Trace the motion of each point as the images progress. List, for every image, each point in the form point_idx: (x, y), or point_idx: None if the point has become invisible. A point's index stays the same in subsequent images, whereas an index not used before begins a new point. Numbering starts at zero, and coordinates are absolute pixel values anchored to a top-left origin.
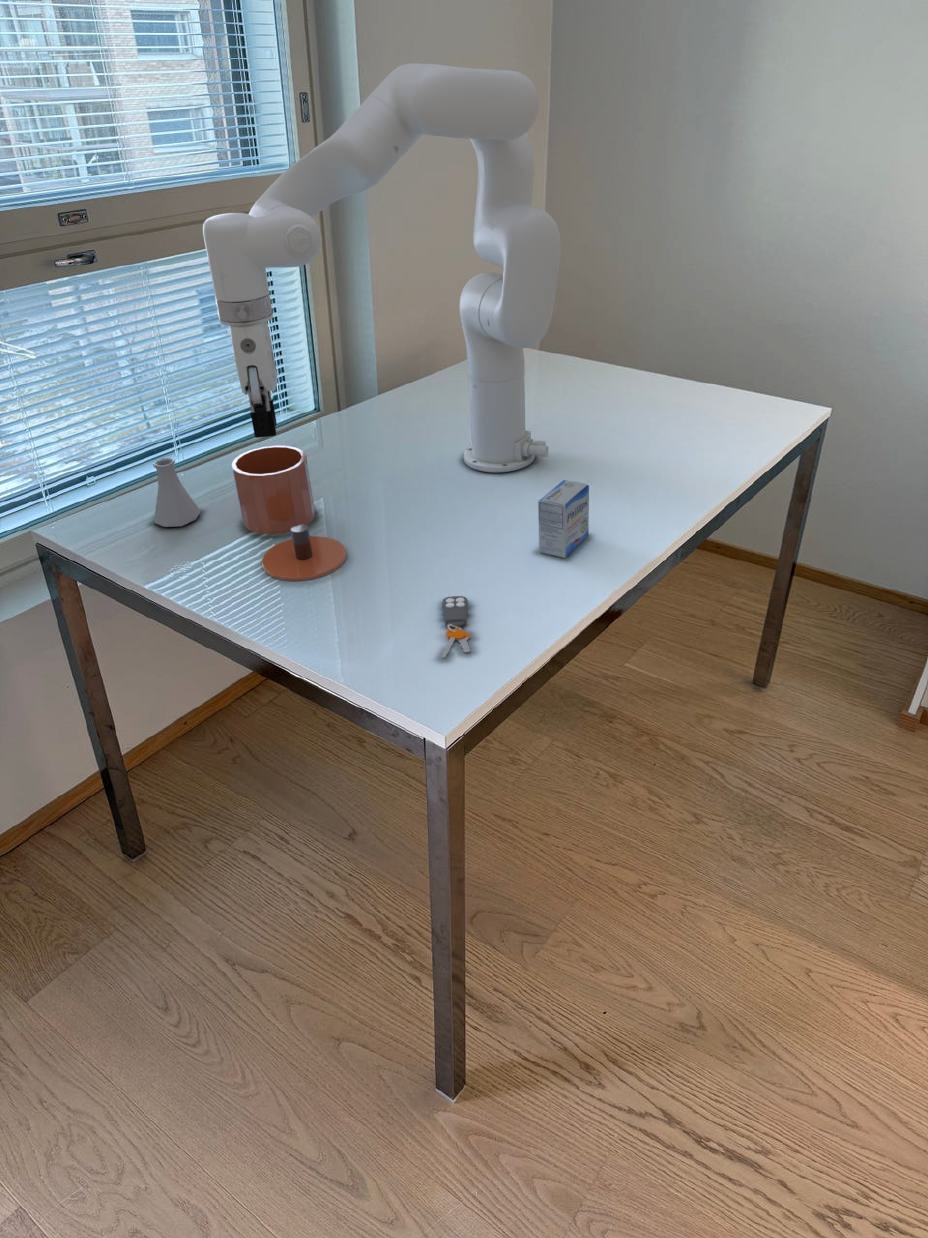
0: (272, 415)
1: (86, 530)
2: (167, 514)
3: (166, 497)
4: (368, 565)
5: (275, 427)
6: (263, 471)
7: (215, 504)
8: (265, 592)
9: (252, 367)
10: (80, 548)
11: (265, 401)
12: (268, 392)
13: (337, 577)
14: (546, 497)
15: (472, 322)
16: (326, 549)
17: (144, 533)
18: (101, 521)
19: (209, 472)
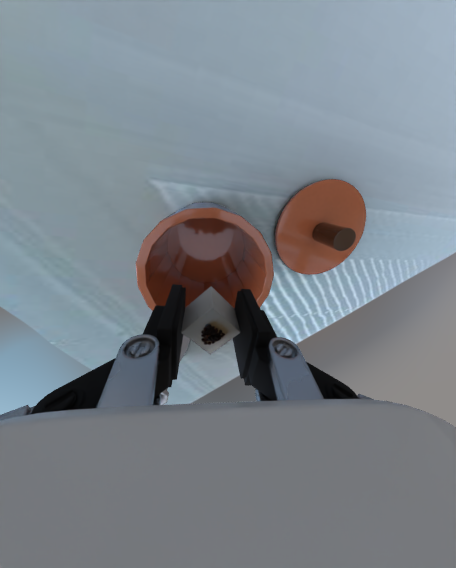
0: (264, 321)
1: (172, 394)
2: (183, 354)
3: None
4: (363, 156)
5: (210, 289)
6: (160, 275)
7: (142, 311)
8: (344, 271)
9: None
10: (202, 392)
11: (334, 388)
12: (155, 368)
13: (363, 200)
14: None
15: None
16: (321, 204)
17: (191, 360)
18: None
19: (44, 318)
